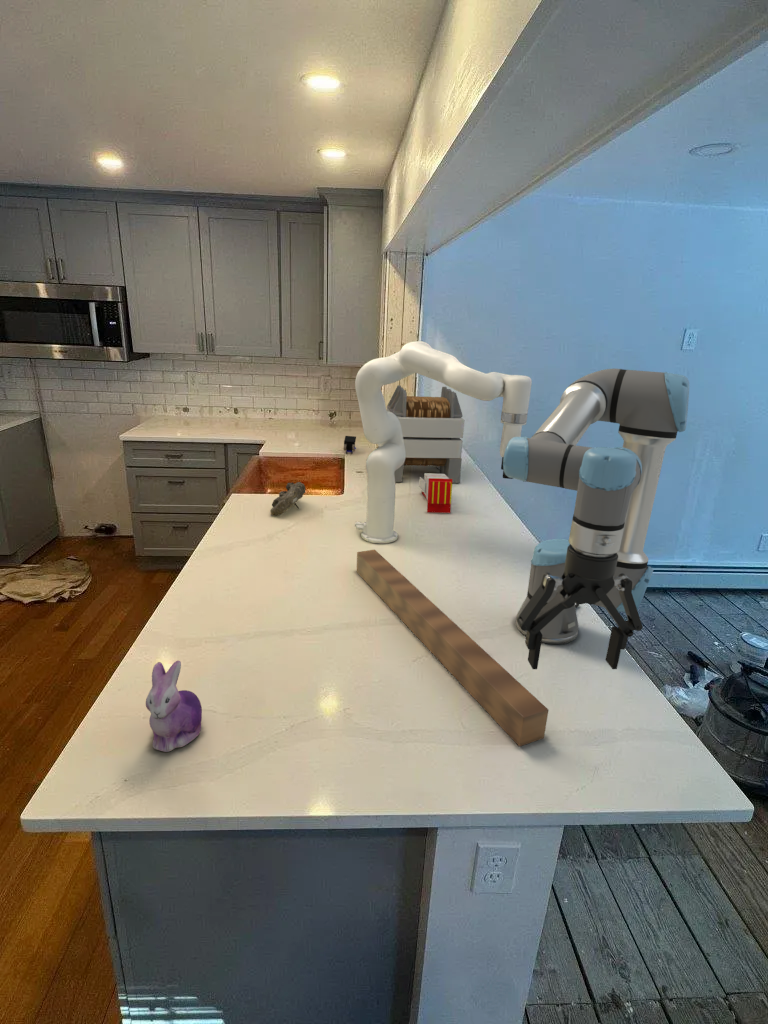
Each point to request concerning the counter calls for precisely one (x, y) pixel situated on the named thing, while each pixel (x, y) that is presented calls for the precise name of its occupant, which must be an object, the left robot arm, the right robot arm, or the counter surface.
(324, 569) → the counter surface
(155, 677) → the figurine
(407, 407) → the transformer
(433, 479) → the toy
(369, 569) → the post
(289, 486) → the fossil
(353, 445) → the figurine character
